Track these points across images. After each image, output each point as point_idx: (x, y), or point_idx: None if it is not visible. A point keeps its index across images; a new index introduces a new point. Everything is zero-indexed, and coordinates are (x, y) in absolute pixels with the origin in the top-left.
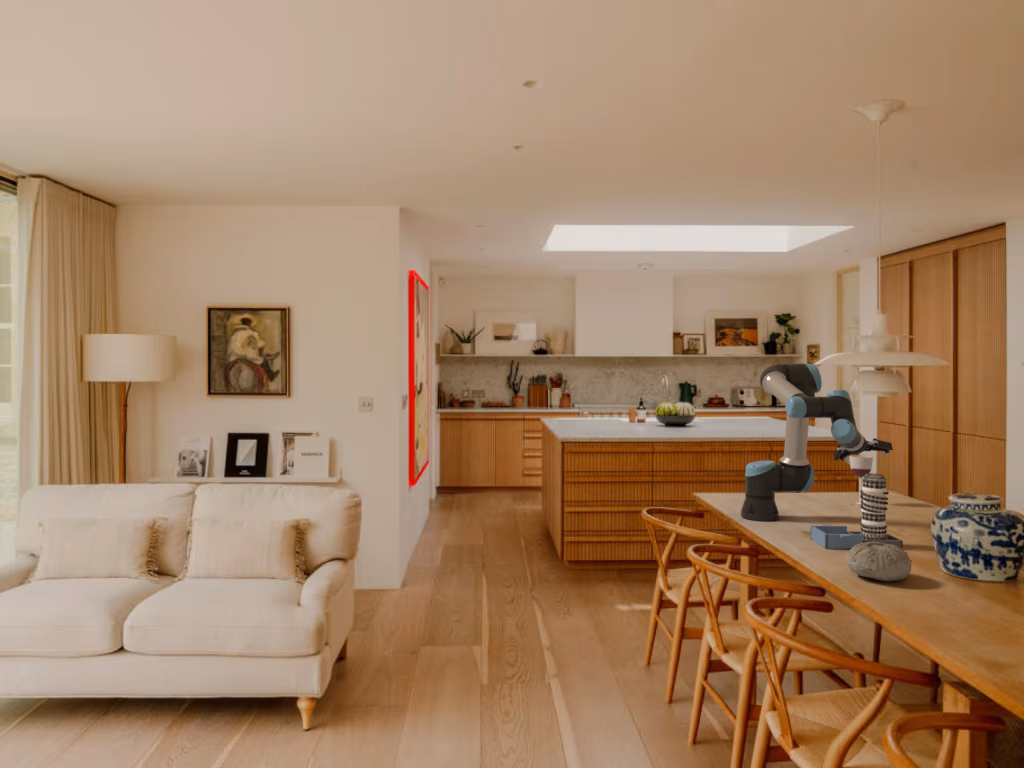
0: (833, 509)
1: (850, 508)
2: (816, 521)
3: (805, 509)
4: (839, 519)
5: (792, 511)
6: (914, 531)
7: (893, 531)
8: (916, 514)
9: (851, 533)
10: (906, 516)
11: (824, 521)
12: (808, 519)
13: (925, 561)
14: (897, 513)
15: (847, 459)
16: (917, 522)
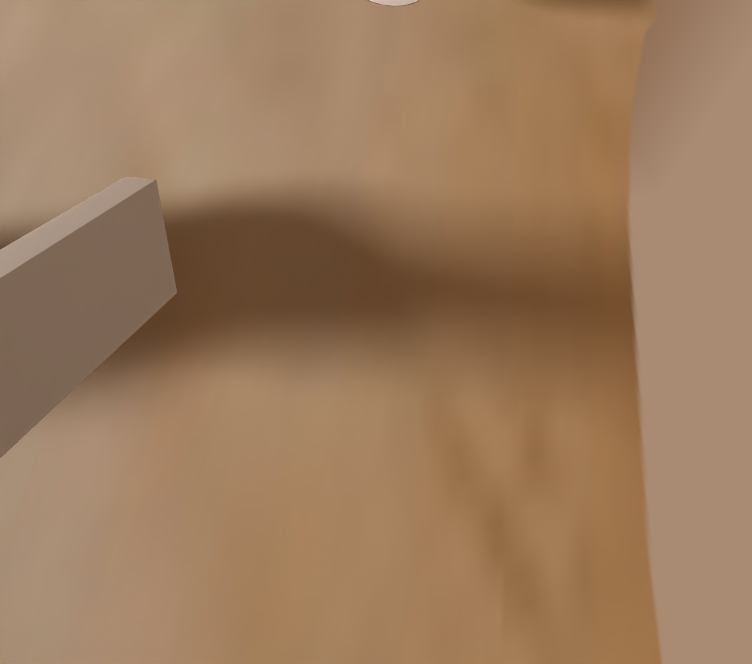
0: (247, 72)
1: (331, 48)
2: None
3: (98, 87)
4: (228, 265)
5: (4, 133)
6: (603, 463)
7: (493, 499)
8: (598, 112)
9: None
10: (560, 150)
11: None
12: None
13: None
14: (524, 106)
15: (68, 351)
16: (609, 252)
